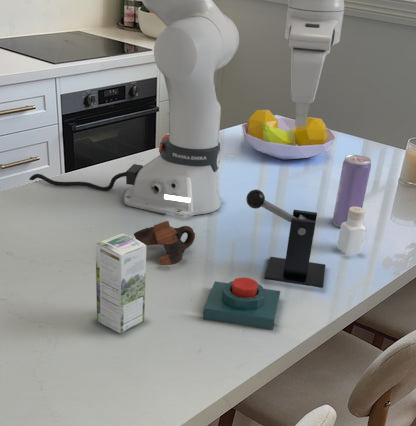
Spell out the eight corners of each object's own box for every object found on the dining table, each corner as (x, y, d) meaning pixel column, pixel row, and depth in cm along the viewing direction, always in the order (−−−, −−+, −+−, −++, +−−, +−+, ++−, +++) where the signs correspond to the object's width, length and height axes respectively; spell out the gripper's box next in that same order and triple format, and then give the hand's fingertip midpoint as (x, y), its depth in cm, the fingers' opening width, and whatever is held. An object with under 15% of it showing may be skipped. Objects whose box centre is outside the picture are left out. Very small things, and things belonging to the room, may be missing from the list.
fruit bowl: (284, 133, 207) (289, 94, 200) (351, 158, 190) (359, 117, 184) (215, 146, 191) (218, 105, 185) (281, 175, 175) (287, 131, 169)
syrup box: (121, 309, 115) (120, 231, 106) (145, 322, 112) (147, 242, 104) (96, 321, 111) (93, 241, 103) (121, 335, 108) (120, 254, 100)
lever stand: (264, 282, 126) (272, 221, 119) (269, 261, 134) (277, 203, 126) (322, 291, 125) (333, 229, 118) (324, 269, 132) (335, 210, 125)
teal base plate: (203, 319, 114) (204, 298, 112) (213, 291, 122) (215, 272, 120) (272, 330, 113) (275, 309, 110) (278, 301, 121) (281, 282, 118)
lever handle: (241, 205, 122) (250, 189, 120) (244, 199, 124) (253, 183, 122) (304, 239, 123) (313, 224, 121) (305, 232, 126) (315, 217, 124)
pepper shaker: (335, 249, 140) (343, 206, 135) (351, 247, 142) (360, 204, 136) (344, 257, 137) (353, 214, 132) (361, 255, 139) (371, 212, 133)
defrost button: (229, 296, 114) (230, 287, 113) (233, 284, 117) (234, 275, 116) (255, 300, 113) (256, 291, 112) (258, 288, 117) (259, 279, 116)
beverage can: (358, 231, 149) (372, 164, 140) (331, 227, 150) (343, 161, 141) (358, 221, 154) (372, 156, 145) (332, 217, 154) (344, 152, 146)
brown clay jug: (149, 275, 127) (133, 233, 125) (140, 274, 136) (125, 235, 134) (206, 253, 129) (192, 211, 127) (194, 253, 138) (180, 214, 136)
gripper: (298, 18, 115) (288, 101, 123) (288, 36, 99) (278, 132, 107) (334, 21, 115) (323, 105, 123) (331, 40, 98) (317, 136, 106)
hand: (302, 118), depth 115 cm, fingers open, 8 cm apart
